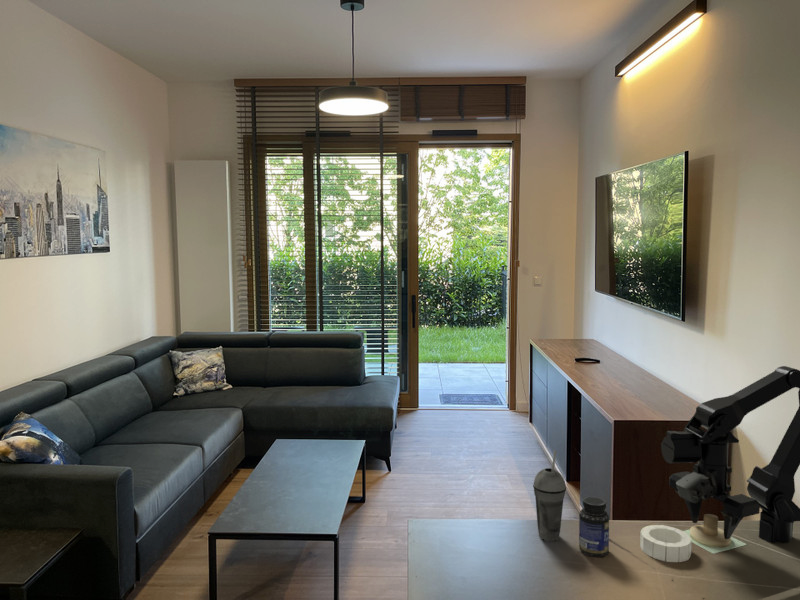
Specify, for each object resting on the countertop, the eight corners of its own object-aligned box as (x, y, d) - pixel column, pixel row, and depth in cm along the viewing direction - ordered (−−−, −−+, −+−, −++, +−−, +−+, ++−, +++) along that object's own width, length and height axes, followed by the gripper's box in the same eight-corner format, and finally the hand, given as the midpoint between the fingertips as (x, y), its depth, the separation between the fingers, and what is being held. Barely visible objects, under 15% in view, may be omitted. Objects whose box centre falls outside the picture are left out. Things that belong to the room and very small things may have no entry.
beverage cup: (531, 528, 138) (531, 444, 136) (563, 529, 137) (564, 445, 135) (533, 543, 131) (534, 455, 129) (567, 545, 130) (569, 456, 128)
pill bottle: (610, 559, 124) (611, 508, 123) (580, 556, 125) (581, 505, 124) (606, 544, 130) (607, 496, 129) (577, 542, 131) (578, 494, 130)
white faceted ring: (664, 539, 132) (665, 522, 132) (700, 559, 123) (701, 541, 123) (630, 547, 128) (631, 529, 128) (665, 569, 120) (666, 550, 119)
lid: (708, 527, 136) (708, 506, 135) (739, 543, 128) (740, 521, 128) (681, 534, 133) (682, 512, 132) (712, 550, 125) (713, 527, 125)
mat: (707, 528, 137) (707, 524, 137) (746, 548, 128) (747, 544, 128) (674, 536, 133) (674, 532, 133) (713, 557, 124) (713, 553, 124)
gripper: (651, 453, 135) (649, 519, 136) (723, 482, 117) (720, 558, 119) (688, 446, 139) (686, 511, 140) (762, 474, 122) (759, 547, 123)
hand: (710, 530), depth 130 cm, fingers open, 8 cm apart
